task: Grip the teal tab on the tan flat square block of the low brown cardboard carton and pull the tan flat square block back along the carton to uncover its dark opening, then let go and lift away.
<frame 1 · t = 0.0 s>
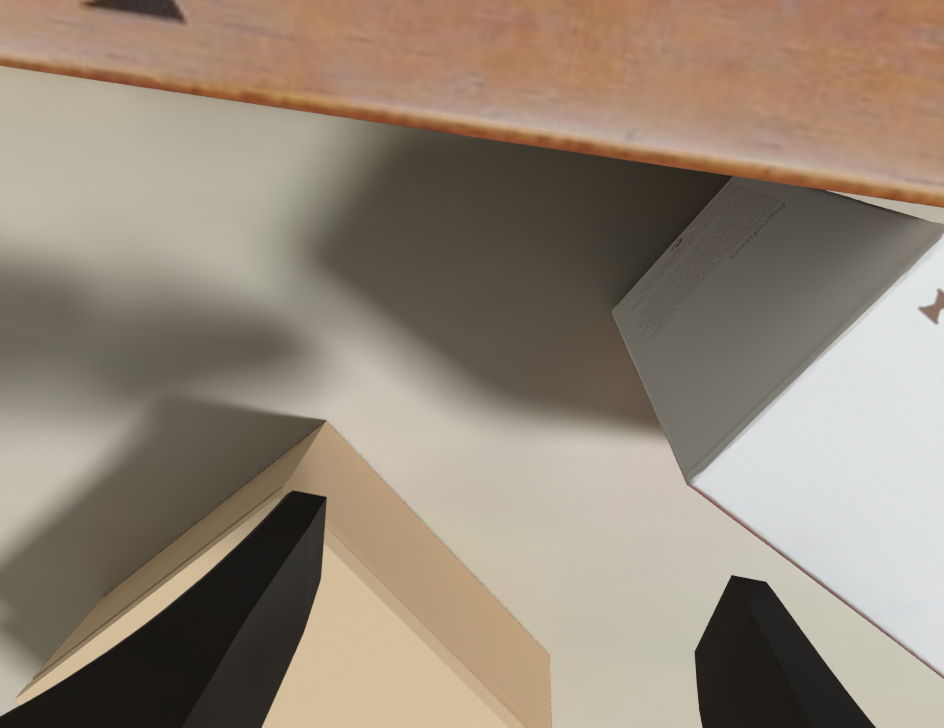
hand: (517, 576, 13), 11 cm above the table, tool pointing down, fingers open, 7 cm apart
small box: (767, 319, 22), on the table
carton: (322, 626, 27), on the table
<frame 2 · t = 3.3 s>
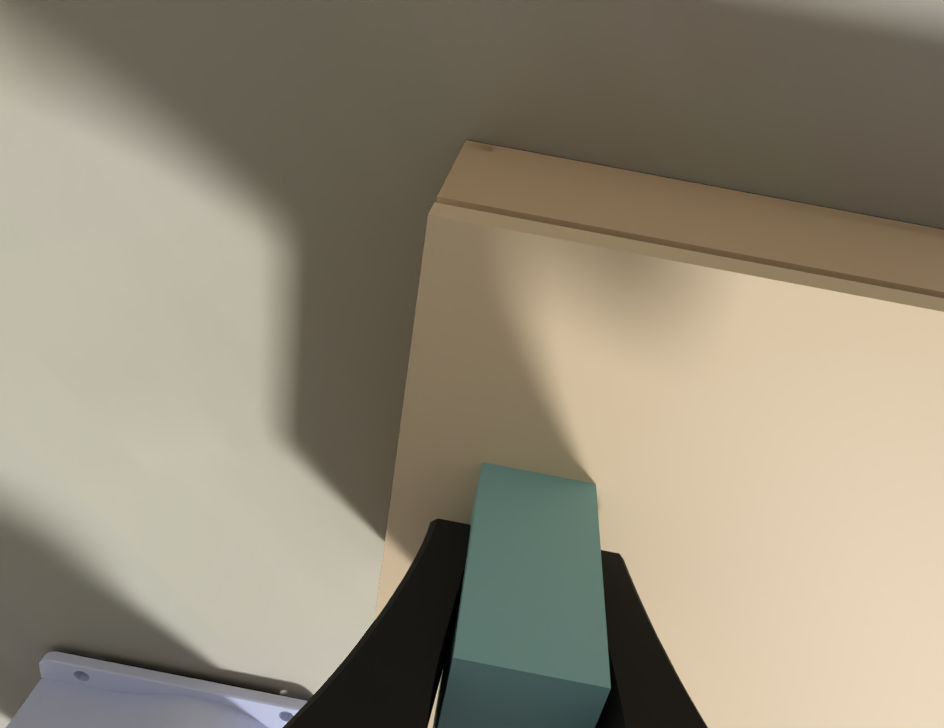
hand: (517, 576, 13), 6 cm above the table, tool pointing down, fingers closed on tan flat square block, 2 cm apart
tan flat square block: (723, 662, 12), point 7 cm above the table, slide at 0.0 cm, touching gripper
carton: (669, 432, 17), on the table
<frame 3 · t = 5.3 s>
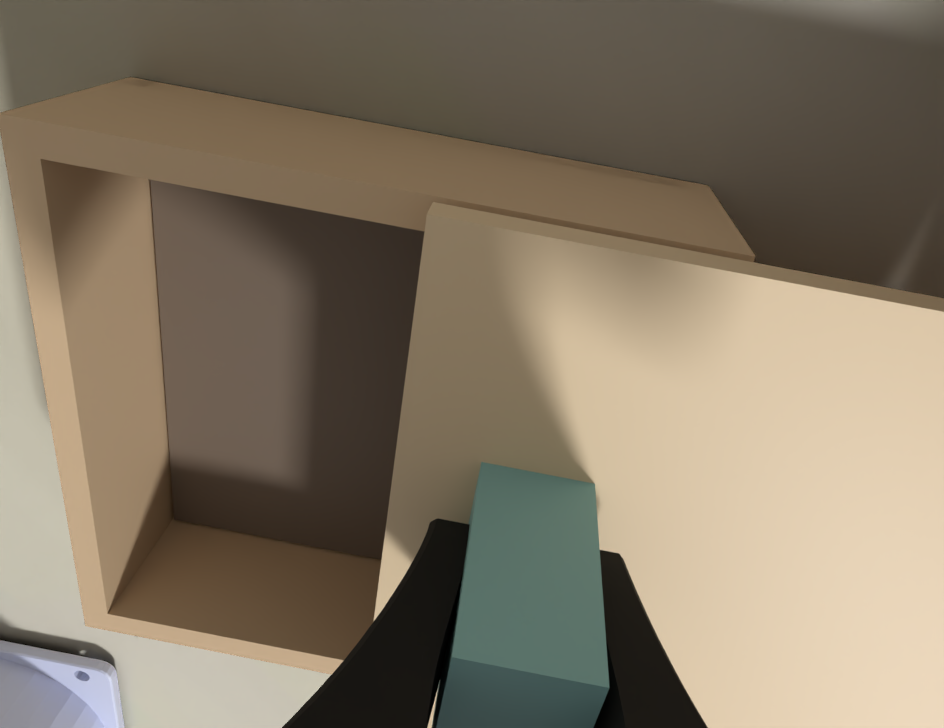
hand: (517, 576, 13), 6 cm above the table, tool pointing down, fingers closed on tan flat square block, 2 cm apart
tan flat square block: (722, 661, 12), point 7 cm above the table, slide at 7.0 cm, touching gripper
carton: (388, 378, 18), on the table
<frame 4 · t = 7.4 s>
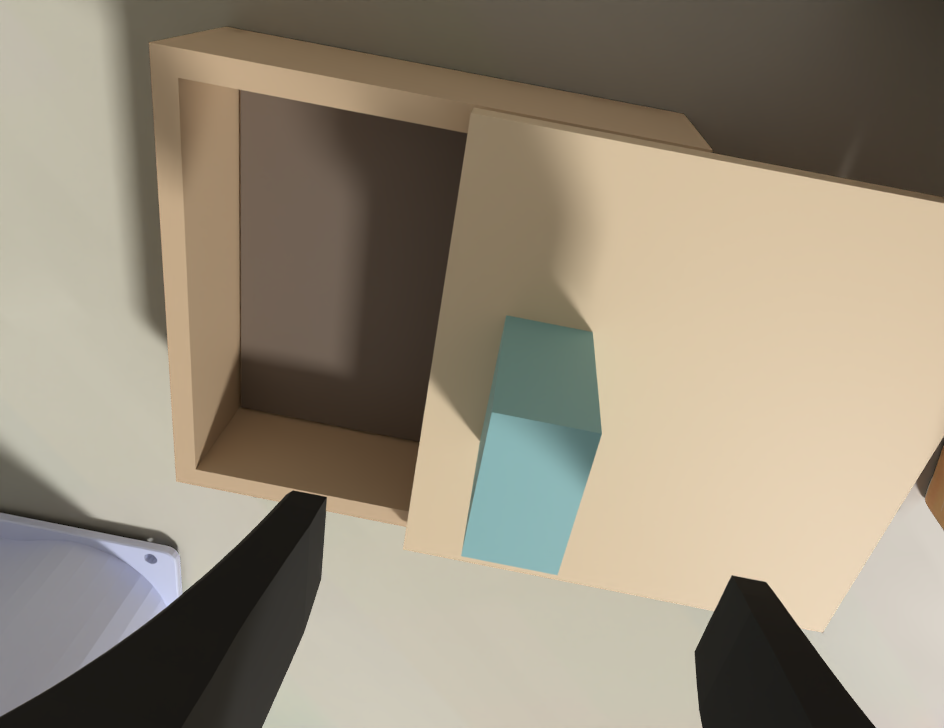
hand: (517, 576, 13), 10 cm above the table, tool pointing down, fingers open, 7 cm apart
tan flat square block: (688, 461, 16), point 7 cm above the table, slide at 7.0 cm
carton: (424, 281, 21), on the table
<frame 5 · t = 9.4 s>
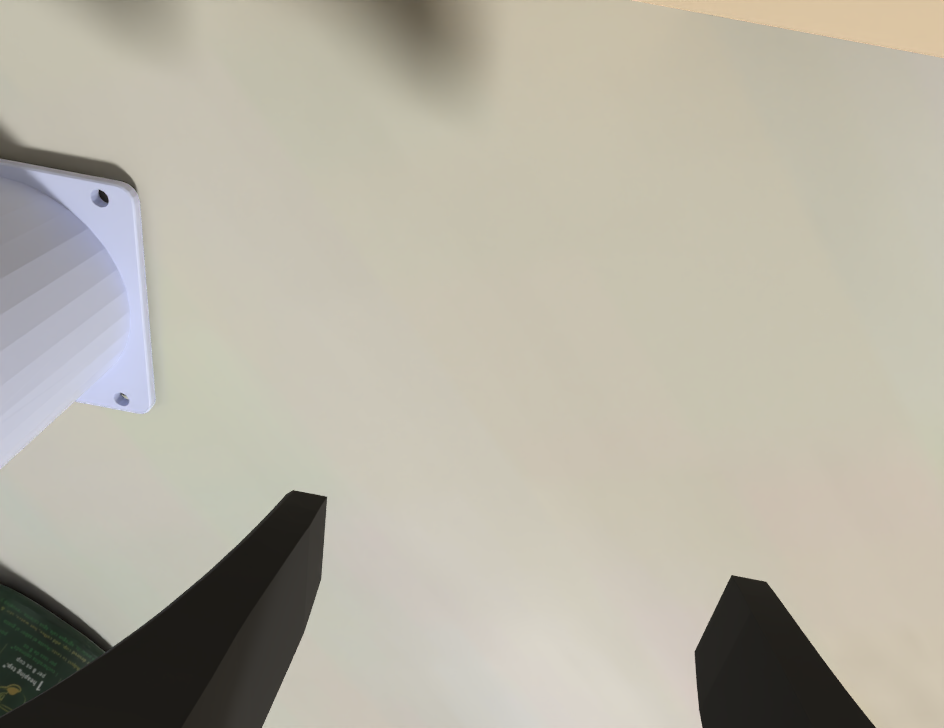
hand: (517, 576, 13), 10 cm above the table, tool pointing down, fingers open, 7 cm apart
coffee jar: (33, 645, 33), on the table
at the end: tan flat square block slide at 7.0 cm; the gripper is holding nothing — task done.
